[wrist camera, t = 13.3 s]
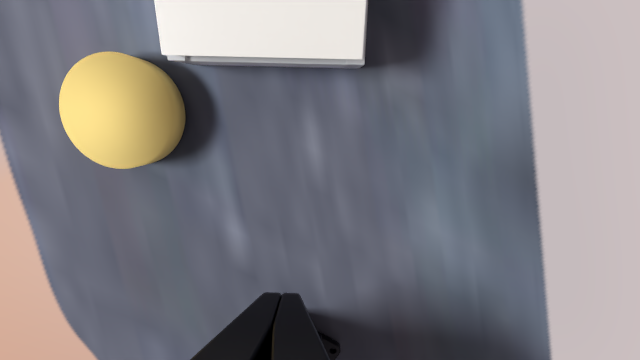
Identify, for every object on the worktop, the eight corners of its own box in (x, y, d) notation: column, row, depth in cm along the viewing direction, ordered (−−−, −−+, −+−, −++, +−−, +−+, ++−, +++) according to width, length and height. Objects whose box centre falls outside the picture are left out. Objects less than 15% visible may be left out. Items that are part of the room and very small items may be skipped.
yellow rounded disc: (61, 102, 18) (35, 101, 17) (135, 34, 18) (116, 25, 16) (132, 184, 19) (114, 190, 18) (206, 122, 18) (194, 123, 17)
